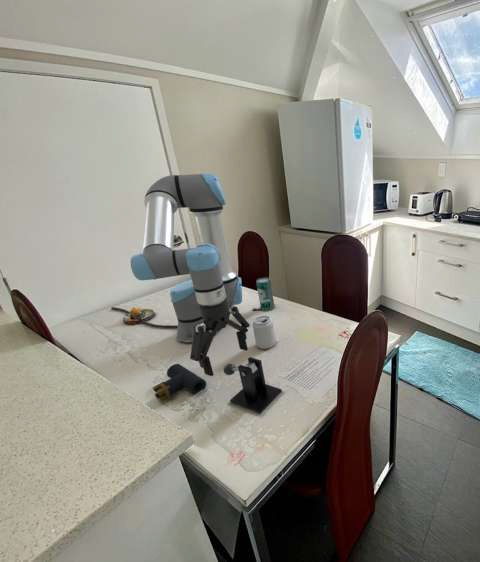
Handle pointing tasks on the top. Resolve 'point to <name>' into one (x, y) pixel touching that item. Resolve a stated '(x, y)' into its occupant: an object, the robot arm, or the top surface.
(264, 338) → the can
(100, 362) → the top surface
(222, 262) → the robot arm
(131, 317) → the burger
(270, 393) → the bracket
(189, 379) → the pipe connector
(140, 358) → the top surface
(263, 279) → the can
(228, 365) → the tap lever
